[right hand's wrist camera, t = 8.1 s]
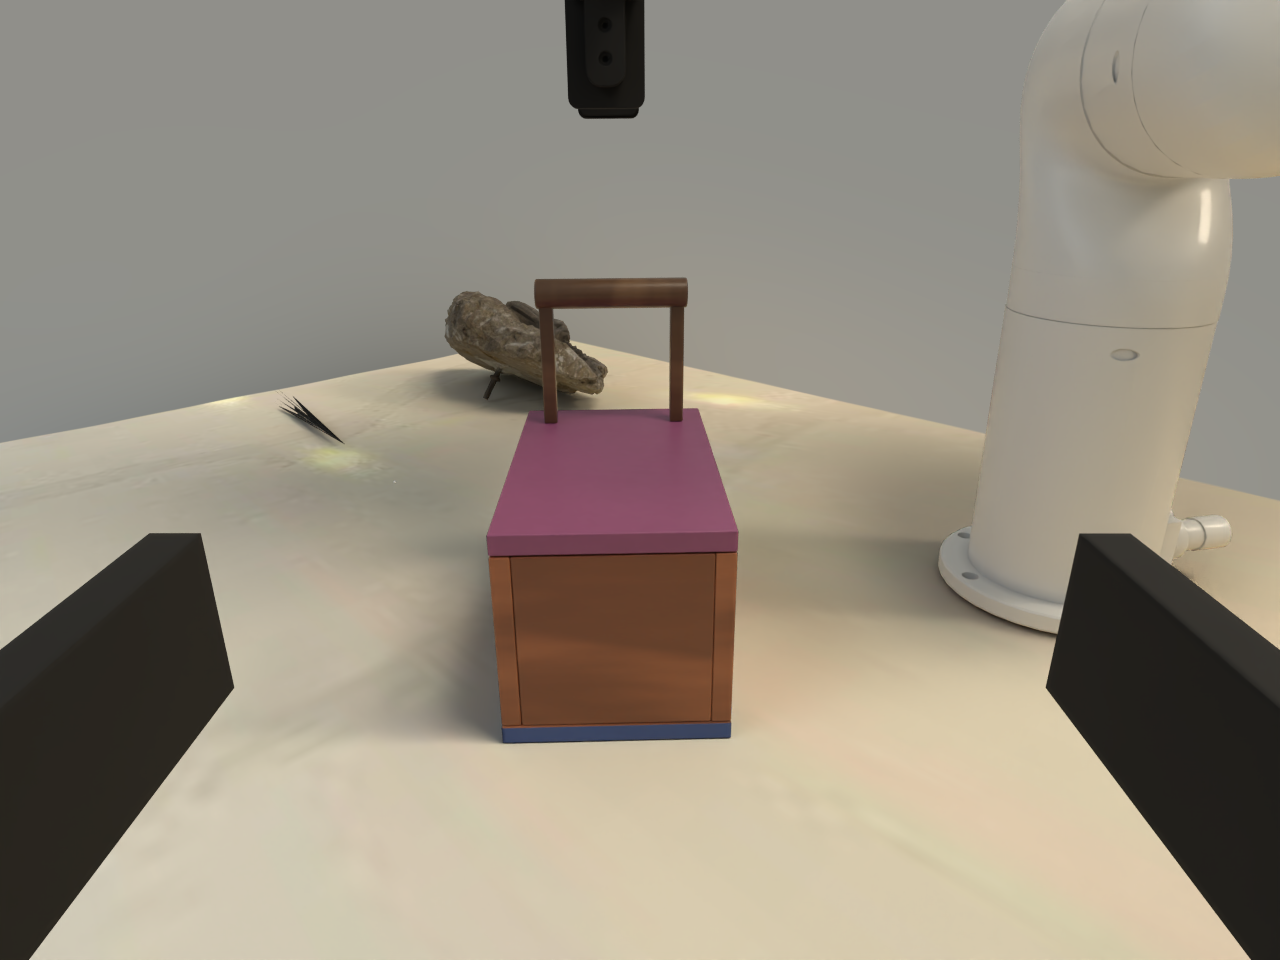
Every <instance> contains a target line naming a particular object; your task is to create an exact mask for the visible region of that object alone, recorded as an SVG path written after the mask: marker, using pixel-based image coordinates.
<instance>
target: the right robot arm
mask: <svg viewBox="0 0 1280 960" xmlns="http://www.w3.org/2000/svg"><path fill="white" fill-rule="evenodd" d="M233 689H234V684H233V680H232V675H231V670H230V666H229V661H228V656H227V652H226V647H225V643H224V638H223V633H222V629H221V624H220V620H219V615H218V610H217V606H216V601H215V597H214V592H213V587H212V583H211V578H210V574H209V569H208V564H207V560H206V555H205V551H204V546H203V541H202V537H201V533H149V534H148V535H147V536H145V537H144V538H143V539H142V540H140V541H139V542H138V543H137V544H135V545H134V546H133V547H131V548H130V549H129V550H128V551H126V552H125V553H124V554H122V555H121V556H120V557H119V558H117V559H116V560H115V561H114V562H112V563H111V564H110V565H108V566H107V567H106V568H105V569H103V570H102V571H101V572H99V573H98V574H97V575H96V576H94V577H93V578H92V579H90V580H89V581H88V582H87V583H85V584H84V585H83V586H82V587H80V588H79V589H78V590H76V591H75V592H74V593H73V594H71V595H70V596H69V597H67V598H66V599H65V600H64V601H62V602H61V603H60V604H58V605H57V606H56V607H55V608H53V609H52V610H51V611H50V612H48V613H47V614H46V615H44V616H43V617H42V618H41V619H39V620H38V621H37V622H35V623H34V624H33V625H32V626H30V627H29V628H28V629H27V630H25V631H24V632H23V633H21V634H20V635H19V636H18V637H16V638H15V639H14V640H12V641H11V642H10V643H9V644H7V645H6V646H5V647H3V648H2V649H1V650H0V960H29V959H30V958H31V956H32V955H33V954H34V952H35V951H36V950H37V948H38V947H39V946H40V944H41V943H42V942H43V940H44V939H45V938H46V936H47V935H48V934H49V932H50V931H51V930H52V928H53V927H54V926H55V925H56V923H57V922H58V921H59V919H60V918H61V917H62V915H63V914H64V913H65V911H66V910H67V909H68V907H69V906H70V905H71V903H72V902H73V901H74V899H75V898H76V897H77V895H78V894H79V893H80V891H81V890H82V889H83V887H84V886H85V885H86V883H87V882H88V881H89V879H90V878H91V877H92V875H93V874H94V873H95V872H96V870H97V869H98V868H99V866H100V865H101V864H102V862H103V861H104V860H105V858H106V857H107V856H108V854H109V853H110V852H111V850H112V849H113V848H114V846H115V845H116V844H117V842H118V841H119V840H120V838H121V837H122V836H123V834H124V833H125V832H126V830H127V829H128V828H129V826H130V825H131V824H132V822H133V821H134V820H135V819H136V817H137V816H138V815H139V813H140V812H141V811H142V809H143V808H144V807H145V805H146V804H147V803H148V801H149V800H150V799H151V797H152V796H153V795H154V793H155V792H156V791H157V789H158V788H159V787H160V785H161V784H162V783H163V781H164V780H165V779H166V777H167V776H168V775H169V773H170V772H171V771H172V769H173V768H174V767H175V766H176V764H177V763H178V762H179V760H180V759H181V758H182V756H183V755H184V754H185V752H186V751H187V750H188V748H189V747H190V746H191V744H192V743H193V742H194V740H195V739H196V738H197V736H198V735H199V734H200V732H201V731H202V730H203V728H204V727H205V726H206V724H207V723H208V722H209V720H210V719H211V718H212V716H213V715H214V714H215V713H216V711H217V710H218V709H219V707H220V706H221V705H222V703H223V702H224V701H225V699H226V698H227V697H228V695H229V694H230V693H231V691H232V690H233ZM1046 689H1047V690H1048V691H1049V693H1050V694H1051V695H1052V697H1053V698H1054V699H1055V701H1056V702H1057V703H1058V705H1059V706H1060V707H1061V709H1062V710H1063V711H1064V713H1065V714H1066V715H1067V716H1068V718H1069V719H1070V720H1071V722H1072V723H1073V724H1074V726H1075V727H1076V728H1077V730H1078V731H1079V732H1080V734H1081V735H1082V736H1083V738H1084V739H1085V740H1086V742H1087V743H1088V744H1089V746H1090V747H1091V748H1092V750H1093V751H1094V752H1095V754H1096V755H1097V756H1098V758H1099V759H1100V760H1101V762H1102V763H1103V764H1104V766H1105V767H1106V768H1107V769H1108V771H1109V772H1110V773H1111V775H1112V776H1113V777H1114V779H1115V780H1116V781H1117V783H1118V784H1119V785H1120V787H1121V788H1122V789H1123V791H1124V792H1125V793H1126V795H1127V796H1128V797H1129V799H1130V800H1131V801H1132V803H1133V804H1134V805H1135V807H1136V808H1137V809H1138V811H1139V812H1140V813H1141V815H1142V816H1143V817H1144V819H1145V820H1146V821H1147V822H1148V824H1149V825H1150V826H1151V828H1152V829H1153V830H1154V832H1155V833H1156V834H1157V836H1158V837H1159V838H1160V840H1161V841H1162V842H1163V844H1164V845H1165V846H1166V848H1167V849H1168V850H1169V852H1170V853H1171V854H1172V856H1173V857H1174V858H1175V860H1176V861H1177V862H1178V864H1179V865H1180V866H1181V868H1182V869H1183V870H1184V872H1185V873H1186V874H1187V875H1188V877H1189V878H1190V879H1191V881H1192V882H1193V883H1194V885H1195V886H1196V887H1197V889H1198V890H1199V891H1200V893H1201V894H1202V895H1203V897H1204V898H1205V899H1206V901H1207V902H1208V903H1209V905H1210V906H1211V907H1212V909H1213V910H1214V911H1215V913H1216V914H1217V915H1218V917H1219V918H1220V919H1221V921H1222V922H1223V923H1224V925H1225V926H1226V927H1227V928H1228V930H1229V931H1230V932H1231V934H1232V935H1233V936H1234V938H1235V939H1236V940H1237V942H1238V943H1239V944H1240V946H1241V947H1242V948H1243V950H1244V951H1245V952H1246V954H1247V955H1248V956H1249V958H1250V959H1251V960H1280V650H1279V649H1278V648H1277V647H1275V646H1274V645H1273V644H1271V643H1270V642H1269V641H1268V640H1266V639H1265V638H1264V637H1262V636H1261V635H1260V634H1259V633H1257V632H1256V631H1255V630H1253V629H1252V628H1251V627H1250V626H1248V625H1247V624H1246V623H1245V622H1243V621H1242V620H1241V619H1239V618H1238V617H1237V616H1236V615H1234V614H1233V613H1232V612H1230V611H1229V610H1228V609H1227V608H1225V607H1224V606H1223V605H1222V604H1220V603H1219V602H1218V601H1216V600H1215V599H1214V598H1213V597H1211V596H1210V595H1209V594H1207V593H1206V592H1205V591H1204V590H1202V589H1201V588H1200V587H1198V586H1197V585H1196V584H1195V583H1193V582H1192V581H1191V580H1190V579H1188V578H1187V577H1186V576H1184V575H1183V574H1182V573H1181V572H1179V571H1178V570H1177V569H1175V568H1174V567H1173V566H1172V565H1170V564H1169V563H1168V562H1166V561H1165V560H1164V559H1163V558H1161V557H1160V556H1159V555H1158V554H1156V553H1155V552H1154V551H1152V550H1151V549H1150V548H1149V547H1147V546H1146V545H1145V544H1143V543H1142V542H1141V541H1140V540H1138V539H1137V538H1136V537H1135V536H1133V535H1132V534H1131V533H1079V537H1078V541H1077V546H1076V551H1075V555H1074V560H1073V564H1072V569H1071V574H1070V578H1069V583H1068V587H1067V592H1066V597H1065V601H1064V606H1063V610H1062V615H1061V620H1060V624H1059V629H1058V633H1057V638H1056V643H1055V647H1054V652H1053V656H1052V661H1051V666H1050V670H1049V675H1048V679H1047V684H1046Z"/></svg>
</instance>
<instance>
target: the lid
mask: <svg viewBox="0 0 1280 960" xmlns="http://www.w3.org/2000/svg"><path fill="white" fill-rule="evenodd" d="M534 298H535V306H536V308H537V309H539V324H540V344H541V363H542V383H543V403H544V411H529V414H528V416H527V419H526V422H525V425H524V428H523V431H522V434H521V437H520V440H519V443H518V446H517V449H516V451H515V454H514V457H513V460H512V463H511V466H510V469H509V472H508V475H507V478H506V481H505V484H504V486H503V489H502V492H501V495H500V498H499V501H498V504H497V507H496V510H495V513H494V516H493V519H492V521H491V524H490V527H489V530H488V533H487V536H486V537H487V549H488V555H489V556H516V555H571V554H625V553H680V552H735V551H737V550H738V529H737V526H736V523H735V520H734V517H733V514H732V511H731V508H730V505H729V502H728V499H727V495H726V492H725V489H724V486H723V483H722V480H721V477H720V474H719V471H718V468H717V465H716V462H715V459H714V456H713V453H712V450H711V447H710V444H709V440H708V437H707V434H706V431H705V428H704V425H703V422H702V419H701V416H700V413H699V410H698V409H697V408H691V409H683V354H684V307H686V306H687V301H688V283H687V278H602V279H536V280H535V282H534ZM665 307H666V308H670V379H669V409H621V410H558V406H557V384H556V361H555V339H554V317H553V309H583V308H665Z"/></svg>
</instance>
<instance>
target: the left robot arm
mask: <svg viewBox="0 0 1280 960" xmlns="http://www.w3.org/2000/svg"><path fill="white" fill-rule="evenodd" d="M565 20H566V48H567V76H568V99H569V103H570V104H571V105H572V106H573V107H574V108H576V109H578V112H579V114H580V116H581V117H583V118H585V119H615V118H634V117H636V116H637V114H638V111H639V107H641V106H642V104H643V102H644V98H645V68H644V67H645V66H644V0H565ZM1274 176H1280V0H1066V2H1065V3H1064V4H1063V5H1062V6H1061V7H1060V9H1059V10H1058V11H1057V12H1056V13H1055V15H1054V16H1053V17H1052V19H1051V20H1050V22H1049V23H1048V25H1047V26H1046V28H1045V30H1044V32H1043V33H1042V35H1041V37H1040V39H1039V41H1038V43H1037V45H1036V47H1035V49H1034V52H1033V54H1032V57H1031V60H1030V63H1029V66H1028V69H1027V73H1026V77H1025V81H1024V86H1023V94H1022V102H1021V113H1020V189H1019V207H1018V220H1017V229H1016V238H1015V247H1014V254H1013V262H1012V268H1011V275H1010V282H1009V289H1008V296H1007V303H1006V305H1005V311H1004V318H1003V324H1002V331H1001V337H1000V344H999V350H998V357H997V363H996V370H995V377H994V383H993V390H992V396H991V403H990V409H989V416H988V423H987V429H986V435H985V442H984V449H983V455H982V462H981V468H980V475H979V481H978V488H977V494H976V501H975V507H974V514H973V521H972V525H971V526H968V527H965V528H962V529H960V530H958V531H956V532H954V533H952V534H950V535H949V536H948V537H947V538H946V539H945V540H944V541H943V543H942V545H941V547H940V553H939V561H938V567H939V570H940V574H941V576H942V577H943V578H944V580H945V581H946V583H947V584H948V585H949V586H950V587H951V588H952V589H953V590H954V591H955V592H956V593H957V594H959V595H960V596H961V597H963V598H964V599H966V600H967V601H969V602H970V603H972V604H973V605H975V606H977V607H979V608H981V609H983V610H985V611H987V612H989V613H991V614H993V615H995V616H997V617H1000V618H1003V619H1005V620H1008V621H1010V622H1013V623H1016V624H1019V625H1023V626H1026V627H1029V628H1033V629H1036V630H1040V631H1045V632H1050V633H1055V634H1057V633H1058V629H1059V624H1060V620H1061V615H1062V610H1063V606H1064V601H1065V597H1066V592H1067V587H1068V583H1069V578H1070V574H1071V569H1072V564H1073V560H1074V555H1075V551H1076V546H1077V541H1078V537H1079V533H1131V534H1132V535H1133V536H1135V537H1136V538H1137V539H1138V540H1140V541H1141V542H1142V543H1143V544H1145V545H1146V546H1147V547H1149V548H1150V549H1151V550H1152V551H1154V552H1155V553H1156V554H1158V555H1159V556H1160V557H1161V558H1163V559H1164V560H1165V561H1166V562H1168V563H1169V564H1170V565H1171V564H1172V560H1173V558H1179V557H1180V556H1182V555H1183V554H1185V552H1186V550H1192V551H1196V550H1204V549H1212V548H1220V547H1225V546H1226V545H1227V544H1228V543H1229V542H1230V540H1231V537H1232V530H1231V526H1230V524H1229V523H1228V521H1227V520H1226V519H1225V518H1223V517H1222V516H1220V515H1206V516H1197V517H1188V518H1186V519H1184V520H1180V519H1178V518H1176V517H1174V513H1173V511H1172V509H1171V507H1172V503H1173V499H1174V495H1175V491H1176V487H1177V483H1178V479H1179V475H1180V471H1181V467H1182V463H1183V459H1184V454H1185V451H1186V447H1187V442H1188V438H1189V434H1190V430H1191V426H1192V422H1193V418H1194V414H1195V410H1196V406H1197V402H1198V398H1199V394H1200V390H1201V386H1202V382H1203V378H1204V374H1205V370H1206V365H1207V362H1208V358H1209V353H1210V349H1211V345H1212V341H1213V337H1214V333H1215V329H1216V325H1217V321H1218V320H1219V317H1220V313H1221V309H1222V305H1223V300H1224V297H1225V292H1226V287H1227V283H1228V278H1229V271H1230V264H1231V257H1232V243H1233V217H1232V204H1231V194H1230V184H1229V179H1250V178H1267V177H1274Z"/></svg>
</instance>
